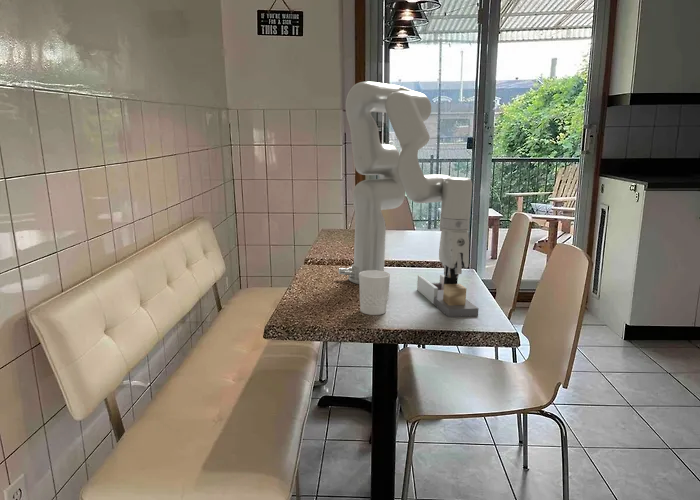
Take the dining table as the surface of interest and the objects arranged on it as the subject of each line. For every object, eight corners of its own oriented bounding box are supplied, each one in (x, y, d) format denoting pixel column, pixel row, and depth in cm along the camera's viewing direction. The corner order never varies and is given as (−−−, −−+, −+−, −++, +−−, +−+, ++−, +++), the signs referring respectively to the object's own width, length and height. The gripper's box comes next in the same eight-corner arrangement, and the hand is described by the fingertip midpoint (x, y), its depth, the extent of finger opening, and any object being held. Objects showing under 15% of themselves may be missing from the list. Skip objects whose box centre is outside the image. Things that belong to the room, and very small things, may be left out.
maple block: (448, 305, 139) (449, 288, 138) (443, 300, 144) (444, 284, 143) (465, 305, 140) (466, 288, 139) (459, 299, 144) (460, 283, 144)
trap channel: (448, 317, 136) (449, 300, 136) (416, 289, 160) (417, 275, 159) (477, 315, 138) (479, 299, 137) (442, 289, 162) (443, 274, 161)
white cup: (394, 311, 140) (396, 274, 138) (375, 318, 134) (376, 279, 132) (371, 304, 145) (372, 268, 143) (351, 311, 139) (352, 273, 137)
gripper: (480, 229, 136) (474, 298, 139) (456, 219, 150) (452, 283, 154) (452, 229, 134) (447, 299, 138) (431, 220, 148) (427, 284, 152)
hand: (450, 290), depth 146 cm, fingers closed
